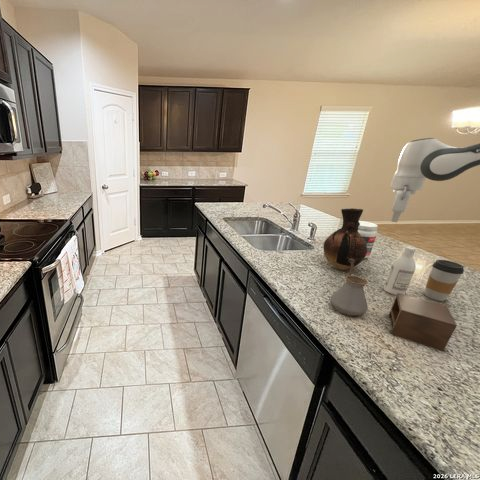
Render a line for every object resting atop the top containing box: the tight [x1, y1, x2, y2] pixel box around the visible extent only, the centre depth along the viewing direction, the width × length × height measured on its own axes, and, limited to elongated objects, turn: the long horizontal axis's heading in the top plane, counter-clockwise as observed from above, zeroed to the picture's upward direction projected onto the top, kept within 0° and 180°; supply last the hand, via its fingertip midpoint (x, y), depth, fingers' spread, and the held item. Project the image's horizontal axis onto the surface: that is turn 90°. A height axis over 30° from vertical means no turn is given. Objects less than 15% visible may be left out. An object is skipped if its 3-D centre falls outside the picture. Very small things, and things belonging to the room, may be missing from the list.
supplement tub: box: [358, 220, 379, 260], centre depth 138 cm, size 13×13×18 cm
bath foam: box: [383, 246, 417, 296], centre depth 103 cm, size 7×7×20 cm
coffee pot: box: [329, 259, 369, 317], centre depth 96 cm, size 21×12×15 cm, turn 150°
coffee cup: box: [423, 259, 465, 302], centre depth 100 cm, size 8×8×15 cm
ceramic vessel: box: [323, 207, 367, 271], centre depth 122 cm, size 21×18×30 cm
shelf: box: [387, 293, 458, 352], centre depth 82 cm, size 12×12×10 cm
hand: (394, 219), depth 101 cm, fingers open, 8 cm apart
